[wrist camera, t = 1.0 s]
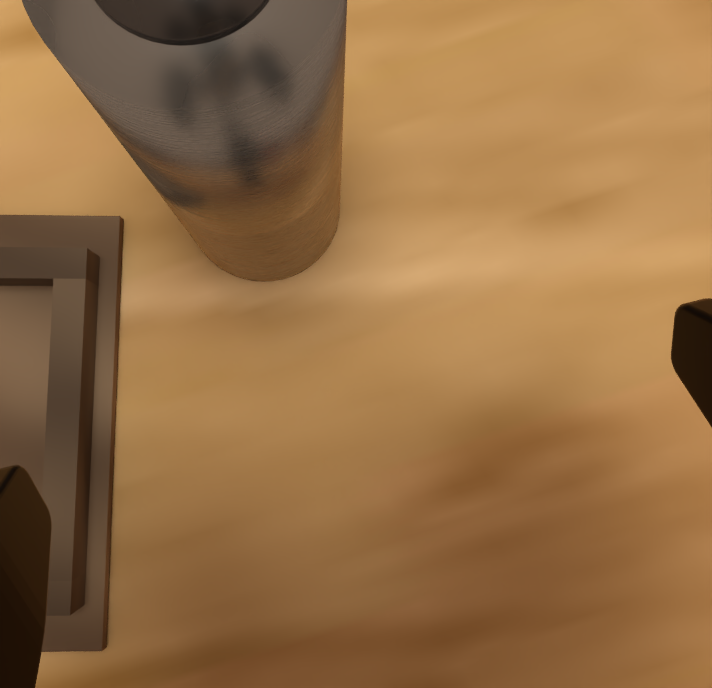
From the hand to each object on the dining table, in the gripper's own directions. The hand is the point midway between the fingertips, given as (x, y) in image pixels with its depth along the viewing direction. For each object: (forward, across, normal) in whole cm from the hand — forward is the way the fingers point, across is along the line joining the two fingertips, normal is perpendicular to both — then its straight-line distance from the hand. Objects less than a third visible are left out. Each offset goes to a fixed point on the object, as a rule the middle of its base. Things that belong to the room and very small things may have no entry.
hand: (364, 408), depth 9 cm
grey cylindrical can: (+16, +1, +2) cm, 16 cm away
